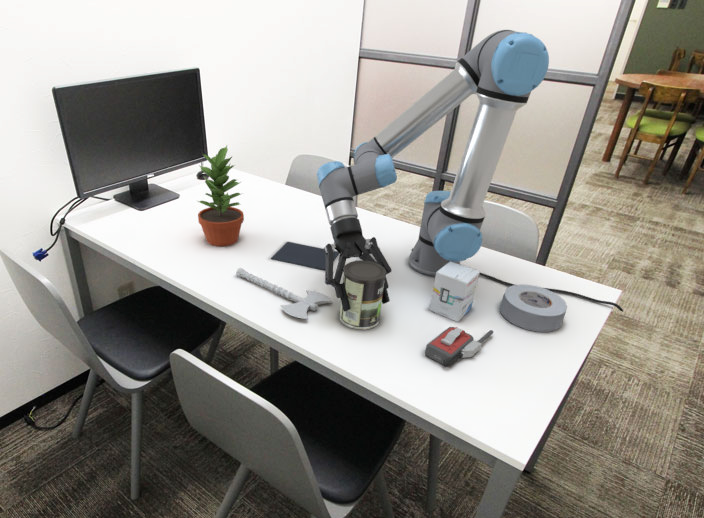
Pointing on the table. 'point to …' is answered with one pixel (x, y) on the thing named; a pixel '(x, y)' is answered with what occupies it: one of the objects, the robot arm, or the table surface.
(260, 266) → the table surface
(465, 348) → the walkie-talkie
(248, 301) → the table surface
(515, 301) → the tape roll
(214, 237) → the potted plant
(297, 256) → the felt pad
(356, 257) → the white coffee cup
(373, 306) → the coffee can
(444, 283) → the ink box
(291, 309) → the axe
